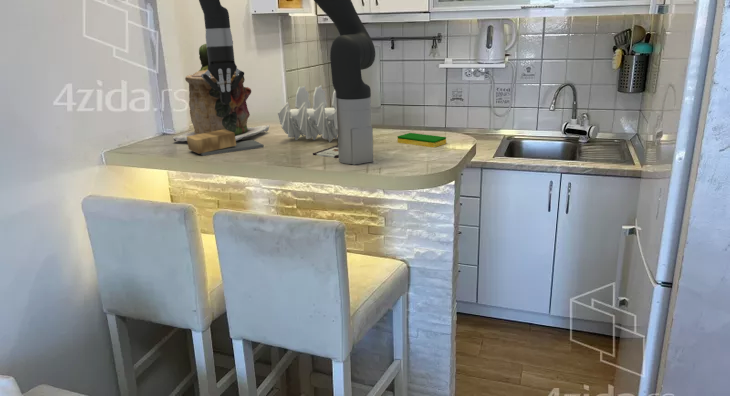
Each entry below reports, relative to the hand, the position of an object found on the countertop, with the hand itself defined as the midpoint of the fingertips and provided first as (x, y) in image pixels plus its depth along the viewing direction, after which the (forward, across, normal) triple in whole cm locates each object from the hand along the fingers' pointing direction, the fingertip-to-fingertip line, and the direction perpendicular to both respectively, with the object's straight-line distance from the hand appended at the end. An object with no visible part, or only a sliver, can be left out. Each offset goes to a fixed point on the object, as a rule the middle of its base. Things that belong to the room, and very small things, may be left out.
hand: (226, 104), depth 166 cm
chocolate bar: (+15, -27, +23) cm, 38 cm away
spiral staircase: (+14, -29, +6) cm, 33 cm away
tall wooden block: (+10, 0, -1) cm, 10 cm away
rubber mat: (+14, 0, 0) cm, 14 cm away
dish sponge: (+15, -52, +28) cm, 61 cm away
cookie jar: (+13, -3, -19) cm, 23 cm away
